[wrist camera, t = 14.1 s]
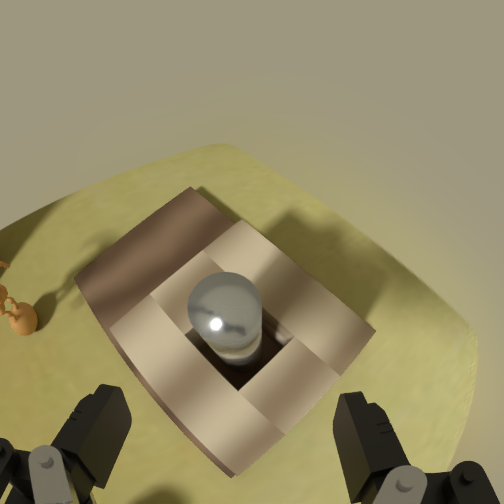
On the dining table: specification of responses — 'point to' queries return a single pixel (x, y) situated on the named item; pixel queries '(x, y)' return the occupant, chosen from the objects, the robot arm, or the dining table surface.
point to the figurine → (18, 312)
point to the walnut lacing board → (161, 280)
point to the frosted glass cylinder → (228, 318)
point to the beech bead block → (273, 324)
